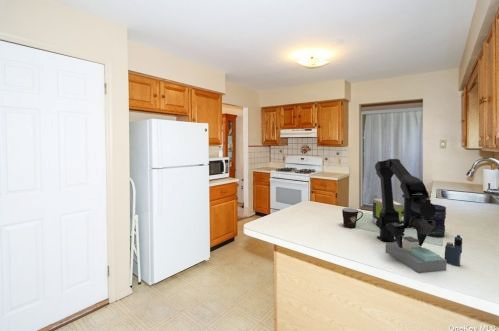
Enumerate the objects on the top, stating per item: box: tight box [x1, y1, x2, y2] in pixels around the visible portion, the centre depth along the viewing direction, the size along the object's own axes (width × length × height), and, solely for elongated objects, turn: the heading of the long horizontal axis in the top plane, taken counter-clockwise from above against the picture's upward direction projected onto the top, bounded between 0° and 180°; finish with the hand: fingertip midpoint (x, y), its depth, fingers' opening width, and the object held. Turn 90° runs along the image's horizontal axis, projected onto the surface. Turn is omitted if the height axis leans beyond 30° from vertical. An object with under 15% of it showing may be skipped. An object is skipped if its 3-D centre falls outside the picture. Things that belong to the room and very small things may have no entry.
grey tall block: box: [402, 235, 419, 253], centre depth 105 cm, size 4×4×9 cm
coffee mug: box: [341, 207, 364, 230], centre depth 145 cm, size 12×9×10 cm
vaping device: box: [444, 234, 463, 267], centre depth 100 cm, size 3×5×12 cm, turn 36°
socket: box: [385, 241, 448, 274], centre depth 104 cm, size 18×12×4 cm, turn 8°
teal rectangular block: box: [411, 247, 441, 262], centre depth 98 cm, size 7×6×2 cm
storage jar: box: [423, 203, 447, 239], centre depth 131 cm, size 10×10×15 cm
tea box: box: [371, 198, 404, 225], centre depth 145 cm, size 15×10×15 cm, turn 179°
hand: (410, 246), depth 105 cm, fingers open, 9 cm apart
